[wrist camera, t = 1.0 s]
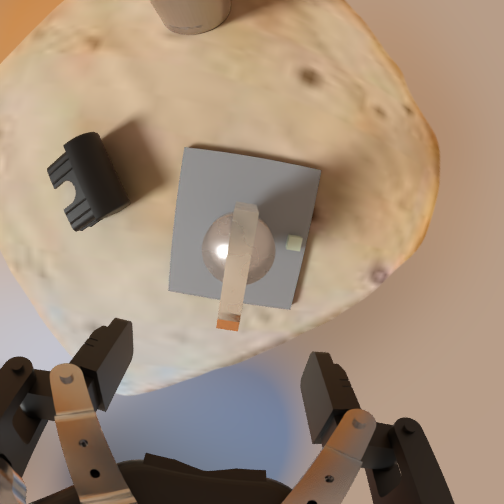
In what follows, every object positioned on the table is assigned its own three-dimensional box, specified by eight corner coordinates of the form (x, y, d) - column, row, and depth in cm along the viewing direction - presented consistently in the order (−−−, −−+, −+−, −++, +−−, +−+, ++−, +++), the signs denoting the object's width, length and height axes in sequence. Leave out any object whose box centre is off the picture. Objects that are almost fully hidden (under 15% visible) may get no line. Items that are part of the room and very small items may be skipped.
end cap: (139, 199, 33) (117, 207, 27) (99, 225, 34) (73, 237, 27) (108, 133, 30) (81, 128, 24) (70, 162, 31) (41, 164, 25)
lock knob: (211, 194, 27) (199, 204, 20) (281, 206, 27) (292, 219, 20) (199, 288, 30) (186, 323, 23) (262, 298, 30) (267, 335, 23)
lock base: (186, 147, 31) (173, 143, 25) (318, 170, 32) (333, 171, 26) (170, 287, 36) (157, 308, 30) (289, 305, 37) (296, 329, 32)
